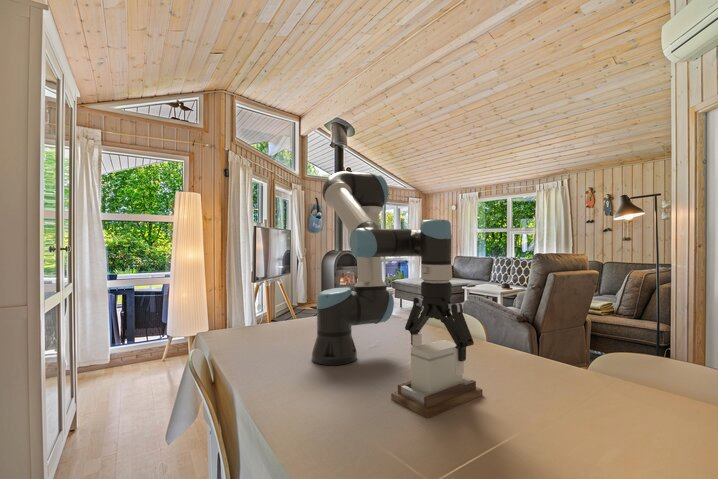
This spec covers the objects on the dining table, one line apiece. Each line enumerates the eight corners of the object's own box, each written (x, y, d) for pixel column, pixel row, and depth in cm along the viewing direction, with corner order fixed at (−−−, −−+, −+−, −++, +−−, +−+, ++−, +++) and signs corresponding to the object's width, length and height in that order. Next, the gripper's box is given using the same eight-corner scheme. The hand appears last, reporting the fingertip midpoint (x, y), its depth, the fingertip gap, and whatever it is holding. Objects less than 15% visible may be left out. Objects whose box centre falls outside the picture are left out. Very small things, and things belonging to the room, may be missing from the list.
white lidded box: (411, 392, 87) (410, 347, 88) (443, 381, 94) (443, 339, 95) (429, 400, 83) (429, 353, 83) (462, 388, 90) (462, 344, 90)
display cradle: (391, 399, 87) (391, 384, 88) (445, 380, 99) (445, 368, 99) (427, 418, 78) (427, 402, 78) (482, 395, 90) (482, 381, 90)
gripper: (392, 278, 97) (392, 356, 97) (468, 287, 77) (469, 385, 76) (411, 276, 101) (412, 351, 101) (489, 284, 81) (489, 377, 81)
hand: (436, 366), depth 89 cm, fingers open, 13 cm apart
